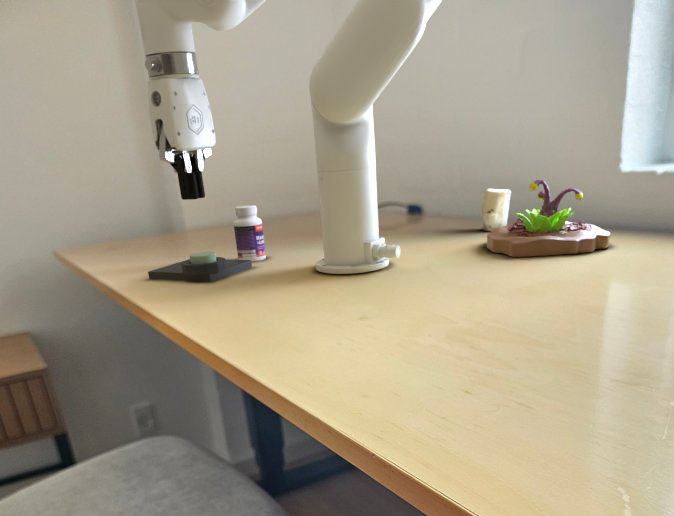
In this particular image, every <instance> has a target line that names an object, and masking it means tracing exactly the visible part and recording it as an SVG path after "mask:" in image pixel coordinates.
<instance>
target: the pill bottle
mask: <svg viewBox="0 0 674 516" xmlns="http://www.w3.org/2000/svg"><path fill="white" fill-rule="evenodd" d="M257 207H258V206H257V205H252V204H251V205H250V204H249V205H240V206H235V208H234V209H235V216H237V218H236V219H235V220H234V221H233V231H234V238H235V246H236V255H237V260H251V262H259V261H263V260H266V258H267V255H266V254H267V253H266V245H265V235H264V227H263V220H262V219H261V218H260V217H258V216H257V215H258V208H257Z"/></svg>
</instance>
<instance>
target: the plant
mask: <svg viewBox="0 0 674 516" xmlns="http://www.w3.org/2000/svg"><path fill="white" fill-rule="evenodd" d="M540 185H542V187H543V191H542V190H540V191H539V192H538V194H537V199H538V201H540V202H541V201H543V204H542V206H541V209H540V208H537V207H534V208H532V210H529V209H525V213H526V214H527V215H528V216H529V218H528V217H527V216H526V215H524V214H523V213H519V212H516V213H515V214H516V216H518V217H519V218H518V219H517V221H516V222H513V223H511V224H507V225H506V226H503V227H501V228H497V229H494V230H492V231H489V232H488V234H487V236H486V248H487V250H489V251H490V252H492V253H497V254H504V255H507V256H509V257H512V258H528V257H539V256H541V257H544V256H545V257H547V256H559V255H560V256H561V255H576V254H581V253H582V254H583V253H593V252H594V251H595V250H601V249H602V250H603V249H604V250H605V249H607V248H609V246H610V243H611V232H610V231H608V230H605V229H602V228H601V227H599V226H597V225H595V224H592V223H584V220H582V221H573V222H571V220H569V218H570V217H572V216H573V214H575V211H572V212H570V211H571V210H572V208H571V207H566V208H563V209H561V210H559V206H560V203H561V201H562V200H563V197H564V196H565V195H566V194H568V193H571V192H574V195H575V196H574V197H575V199H576V200H577V201H579V202H581V201H582V200H583V199H584V193H583V192H582V191H581V190H580V189H577V188H573V187H570V188H566V189H564V190H563V191H560V192H559V194H557V196H556V197H555V198H554V199H553V200H551V190H550V187H549V186H548V184H547V183H546V181H545V180H544V179H536V180H532V181H531V182H530V184H529V186H528V188H529V191H530V192H535V191H536V190H538V188H539V186H540Z"/></svg>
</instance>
